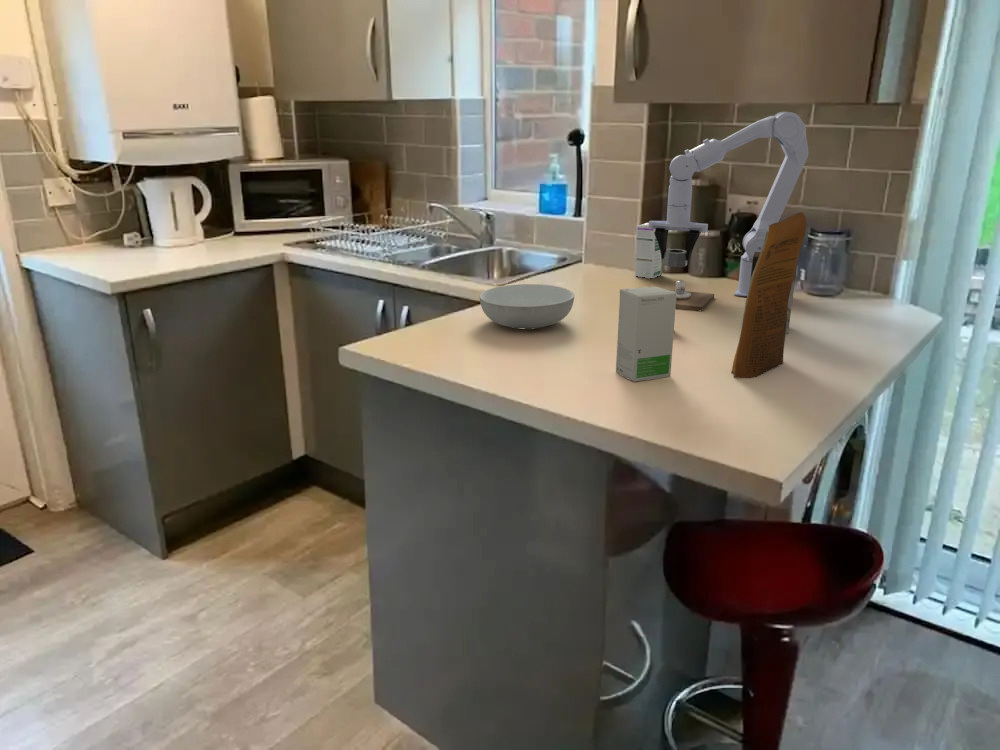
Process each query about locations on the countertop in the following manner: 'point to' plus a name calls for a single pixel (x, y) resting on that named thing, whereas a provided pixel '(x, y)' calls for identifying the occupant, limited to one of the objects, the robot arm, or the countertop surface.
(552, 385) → the countertop surface
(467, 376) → the countertop surface
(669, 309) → the skincare box
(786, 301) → the pancake mix bag
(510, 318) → the serving bowl
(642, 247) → the syrup box
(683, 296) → the piston post
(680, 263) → the ring
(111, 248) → the countertop surface
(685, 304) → the board
